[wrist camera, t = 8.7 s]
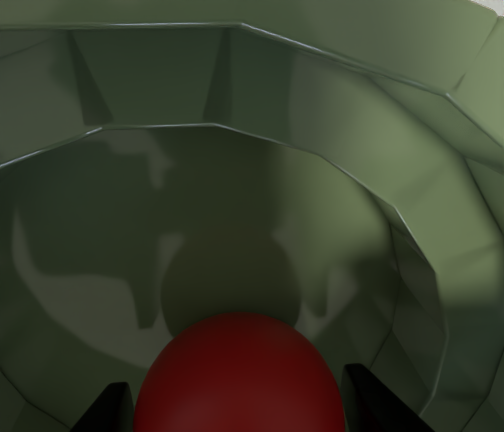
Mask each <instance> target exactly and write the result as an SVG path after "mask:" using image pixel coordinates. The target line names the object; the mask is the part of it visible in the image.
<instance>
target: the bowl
mask: <svg viewBox="0 0 504 432" xmlns="http://www.w3.org/2000/svg"><path fill="white" fill-rule="evenodd" d="M229 312H252V313H258V314H263V315H266V316H269V317H272V318H275V319H278V320H280V321H282V322H284V323H286V324H288V325H289V326H291V327H292V328H294V329H295V330H297V331H298V332H300V333H301V334H302V335H303V336H304V337H306V338H307V339H308V340H309V341H310V342H311V343H312V344H313V345H314V346H315V348H316V349H317V350H318V351H319V352H320V354H321V355H322V357H323V358H324V360H325V361H326V363H327V365H328V366H329V368H330V370H331V371H332V374H333V376H334V378H335V381H336V383H337V386H338V389H339V392H340V396H341V380H342V372H343V367H344V365H345V364H350V363H361V364H363V365H364V366H365V367H366V368H367V369H368V370H370V371H371V372H372V373H373V374H374V375H375V376H376V377H377V378H378V379H379V380H380V381H381V382H383V383H384V384H385V385H386V386H387V387H388V388H389V389H390V390H391V391H392V392H393V393H394V394H395V395H397V396H398V397H399V398H400V399H401V400H402V401H403V402H404V403H405V404H406V405H407V406H408V407H410V408H411V409H412V410H413V411H414V412H415V413H416V414H417V415H418V416H419V417H420V418H421V419H422V420H424V421H425V422H426V423H427V424H428V425H429V426H430V427H431V428H432V429H433V430H434V431H435V432H504V17H503V16H498V14H497V13H496V12H495V11H494V10H493V9H491V8H489V7H486V6H484V5H481V4H479V3H476V2H474V1H471V0H0V432H69V431H70V430H71V428H72V427H73V426H74V425H75V424H76V422H77V421H78V420H79V419H80V418H81V416H82V415H83V414H84V413H85V412H86V410H87V409H88V408H89V407H90V405H91V404H92V403H93V402H94V401H95V399H96V398H97V397H98V396H99V395H100V393H101V392H102V391H103V390H104V389H105V387H106V386H107V385H108V384H110V383H112V382H123V381H126V382H128V383H129V386H130V390H131V395H132V400H133V405H134V411H135V405H136V402H137V398H138V395H139V391H140V388H141V385H142V383H143V381H144V379H145V377H146V375H147V373H148V371H149V369H150V367H151V365H152V363H153V362H154V361H155V359H156V358H157V356H158V355H159V354H160V352H161V351H162V350H163V348H164V347H165V346H166V345H167V344H168V343H169V342H170V341H171V340H172V339H173V338H175V337H176V336H177V335H178V334H179V333H181V332H182V331H183V330H185V329H186V328H188V327H189V326H191V325H193V324H195V323H197V322H199V321H201V320H203V319H205V318H208V317H211V316H214V315H218V314H223V313H229ZM341 400H342V398H341ZM342 404H343V403H342ZM343 410H344V407H343ZM344 419H345V432H349V428H348V423H347V419H346V415H345V411H344ZM132 432H133V428H132Z"/></svg>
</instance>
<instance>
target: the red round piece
mask: <svg viewBox="0 0 504 432" xmlns="http://www.w3.org/2000/svg"><path fill="white" fill-rule="evenodd" d="M133 432H345V419H344V410H343V404H342V400H341V396H340V392H339V389H338V386H337V383H336V381H335V378H334V376H333V374H332V371H331V370H330V368H329V366H328V365H327V363H326V361H325V360H324V358H323V357H322V355H321V354H320V352H319V351H318V350H317V349H316V348H315V346H314V345H313V344H312V343H311V342H310V341H309V340H308V339H307V338H306V337H304V336H303V335H302V334H301V333H300V332H298V331H297V330H295V329H294V328H292V327H291V326H289V325H288V324H286V323H284V322H282V321H280V320H278V319H275V318H272V317H269V316H266V315H263V314H258V313H252V312H229V313H223V314H218V315H214V316H211V317H208V318H205V319H203V320H201V321H199V322H197V323H195V324H193V325H191V326H189V327H188V328H186V329H185V330H183V331H182V332H181V333H179V334H178V335H177V336H176V337H175V338H173V339H172V340H171V341H170V342H169V343H168V344H167V345H166V346H165V347H164V348H163V350H162V351H161V352H160V354H159V355H158V356H157V358H156V359H155V361H154V362H153V363H152V365H151V367H150V369H149V371H148V373H147V375H146V377H145V379H144V381H143V383H142V385H141V388H140V391H139V395H138V398H137V402H136V405H135V411H134V418H133Z"/></svg>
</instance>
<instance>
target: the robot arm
mask: <svg viewBox="0 0 504 432" xmlns="http://www.w3.org/2000/svg"><path fill="white" fill-rule="evenodd" d="M341 398H342V403H343V407H344V411H345V415H346V419H347V423H348V428H349V432H435V431H434V430H433V429H432V428H431V427H430V426H429V425H428V424H427V423H426V422H425V421H424V420H422V419H421V418H420V417H419V416H418V415H417V414H416V413H415V412H414V411H413V410H412V409H411V408H410V407H408V406H407V405H406V404H405V403H404V402H403V401H402V400H401V399H400V398H399V397H398V396H397V395H395V394H394V393H393V392H392V391H391V390H390V389H389V388H388V387H387V386H386V385H385V384H384V383H383V382H381V381H380V380H379V379H378V378H377V377H376V376H375V375H374V374H373V373H372V372H371V371H370V370H368V369H367V368H366V367H365V366H364V365H363V364H361V363H350V364H345V365H344V367H343V372H342V380H341ZM133 418H134V405H133V400H132V395H131V390H130V386H129V383H128V382H126V381H123V382H112V383H110V384H108V385H107V386H106V387H105V389H104V390H103V391H102V392H101V393H100V395H99V396H98V397H97V398H96V399H95V401H94V402H93V403H92V404H91V405H90V407H89V408H88V409H87V410H86V412H85V413H84V414H83V415H82V416H81V418H80V419H79V420H78V421H77V422H76V424H75V425H74V426H73V427H72V428H71V430H70V431H69V432H132V428H133Z"/></svg>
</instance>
